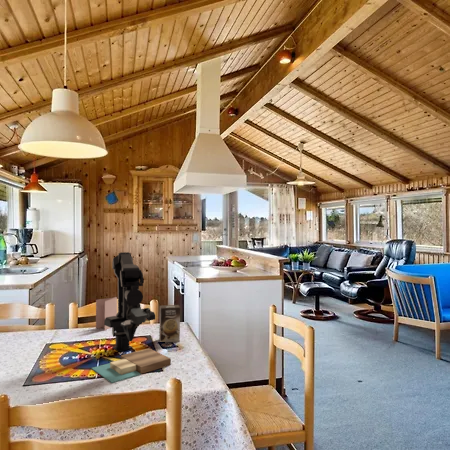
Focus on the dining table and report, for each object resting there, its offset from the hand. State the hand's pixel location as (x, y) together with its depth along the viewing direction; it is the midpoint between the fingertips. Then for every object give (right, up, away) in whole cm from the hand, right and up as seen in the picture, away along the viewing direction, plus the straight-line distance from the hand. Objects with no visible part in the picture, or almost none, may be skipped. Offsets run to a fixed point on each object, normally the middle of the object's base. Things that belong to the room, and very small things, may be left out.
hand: (130, 341), depth 142 cm
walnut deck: (+5, -10, +5) cm, 12 cm away
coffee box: (+10, -10, +34) cm, 37 cm away
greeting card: (-25, -10, +54) cm, 61 cm away
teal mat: (-5, -10, -4) cm, 12 cm away
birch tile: (-2, -10, -2) cm, 10 cm away
